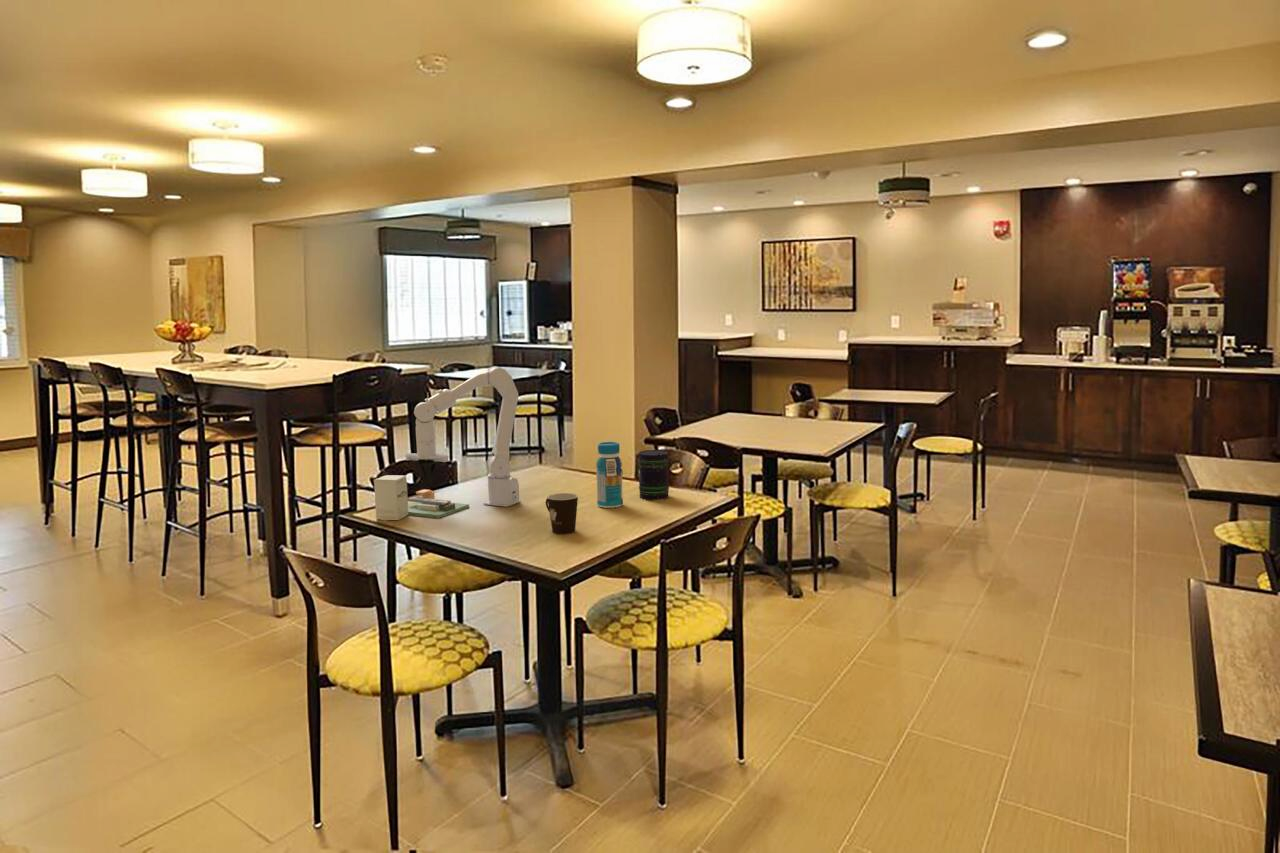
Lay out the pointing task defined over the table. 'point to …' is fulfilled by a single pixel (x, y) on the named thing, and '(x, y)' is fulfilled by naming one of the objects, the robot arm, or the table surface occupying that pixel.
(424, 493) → the lug
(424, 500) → the grey flat bar
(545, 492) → the table surface
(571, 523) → the coffee mug
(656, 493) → the storage jar
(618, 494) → the beverage bottle
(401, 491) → the supplement box
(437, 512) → the board
